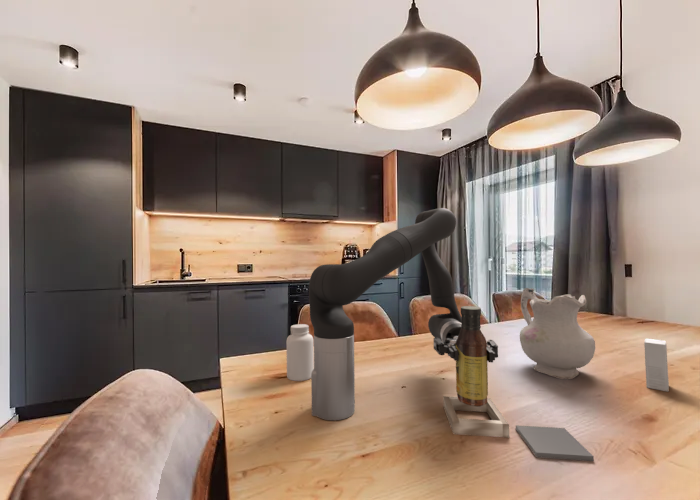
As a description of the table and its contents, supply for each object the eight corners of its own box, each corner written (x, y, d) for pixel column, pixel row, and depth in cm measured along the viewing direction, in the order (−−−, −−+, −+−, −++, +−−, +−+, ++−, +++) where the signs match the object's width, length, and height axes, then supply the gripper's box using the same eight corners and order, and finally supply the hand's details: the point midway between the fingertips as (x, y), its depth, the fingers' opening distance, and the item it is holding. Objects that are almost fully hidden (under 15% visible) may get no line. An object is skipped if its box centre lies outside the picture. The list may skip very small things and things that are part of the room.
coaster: (536, 457, 54) (536, 452, 54) (515, 429, 62) (515, 425, 63) (593, 461, 52) (593, 456, 52) (564, 432, 61) (564, 428, 61)
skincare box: (646, 381, 87) (645, 337, 87) (668, 385, 84) (666, 340, 84) (645, 387, 82) (643, 341, 83) (669, 392, 79) (666, 344, 80)
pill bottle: (281, 377, 92) (281, 325, 93) (302, 370, 98) (302, 322, 99) (297, 384, 87) (297, 329, 88) (319, 376, 93) (319, 325, 93)
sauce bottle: (462, 392, 70) (461, 304, 71) (491, 400, 66) (491, 306, 67) (451, 402, 65) (450, 307, 66) (482, 411, 61) (481, 310, 62)
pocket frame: (453, 434, 61) (452, 420, 61) (443, 407, 72) (443, 396, 72) (509, 437, 60) (509, 424, 60) (490, 409, 71) (490, 398, 71)
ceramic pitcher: (501, 368, 101) (496, 292, 101) (535, 354, 111) (530, 284, 111) (577, 392, 83) (570, 298, 82) (609, 373, 92) (603, 289, 92)
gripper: (428, 322, 82) (437, 336, 65) (486, 323, 80) (510, 339, 63) (428, 351, 81) (438, 373, 65) (486, 353, 79) (511, 377, 63)
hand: (473, 356), depth 64 cm, fingers closed on sauce bottle, 6 cm apart
